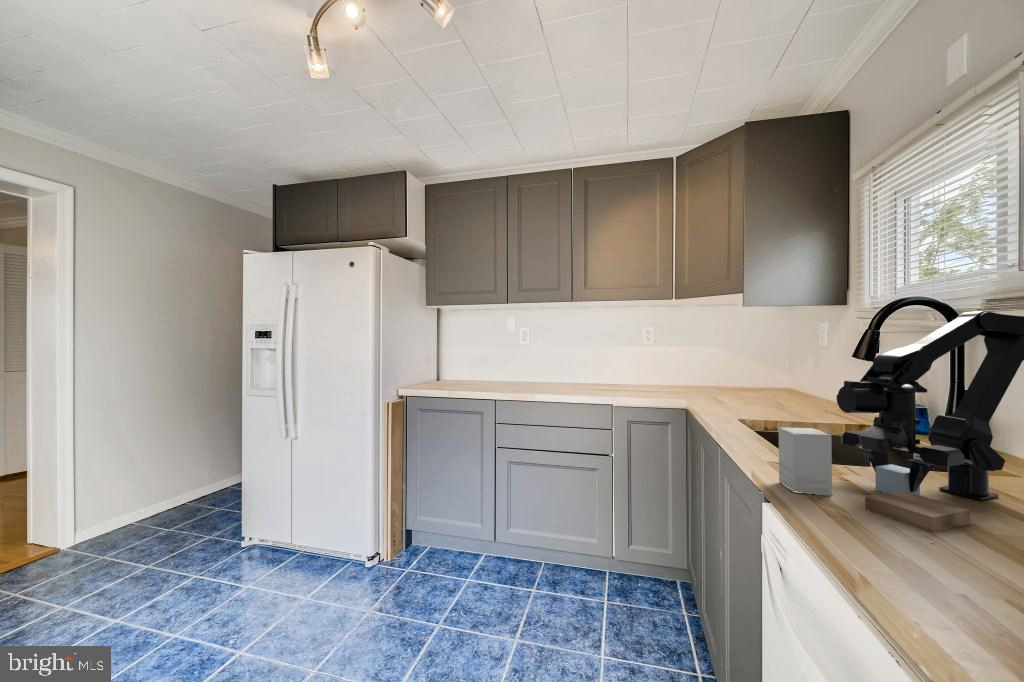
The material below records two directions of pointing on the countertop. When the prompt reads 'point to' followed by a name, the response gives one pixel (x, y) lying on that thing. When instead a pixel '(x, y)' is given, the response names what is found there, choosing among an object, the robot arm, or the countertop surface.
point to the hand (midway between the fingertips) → (897, 487)
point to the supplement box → (805, 460)
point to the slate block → (893, 479)
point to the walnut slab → (918, 510)
